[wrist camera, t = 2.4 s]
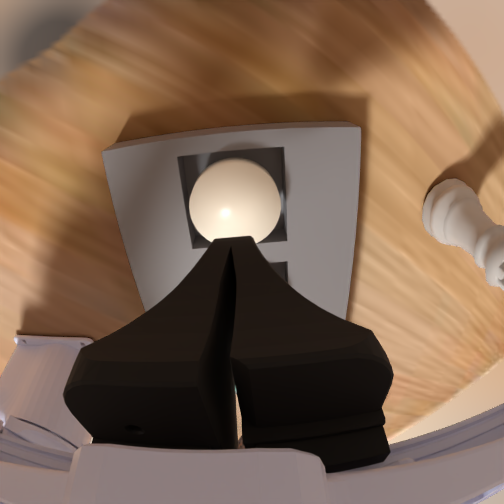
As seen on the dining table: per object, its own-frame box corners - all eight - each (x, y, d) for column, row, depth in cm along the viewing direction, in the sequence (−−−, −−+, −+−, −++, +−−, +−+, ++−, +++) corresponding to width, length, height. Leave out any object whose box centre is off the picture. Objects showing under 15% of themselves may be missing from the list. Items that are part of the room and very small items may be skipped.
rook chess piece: (474, 179, 18) (551, 234, 11) (459, 236, 20) (522, 302, 13) (426, 172, 18) (507, 231, 11) (411, 234, 20) (474, 309, 13)
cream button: (198, 240, 18) (196, 251, 17) (186, 162, 15) (182, 169, 14) (279, 233, 18) (282, 244, 17) (276, 154, 15) (279, 160, 14)
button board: (180, 377, 26) (178, 395, 25) (114, 143, 16) (101, 151, 14) (329, 366, 26) (333, 383, 25) (348, 121, 16) (361, 127, 14)
